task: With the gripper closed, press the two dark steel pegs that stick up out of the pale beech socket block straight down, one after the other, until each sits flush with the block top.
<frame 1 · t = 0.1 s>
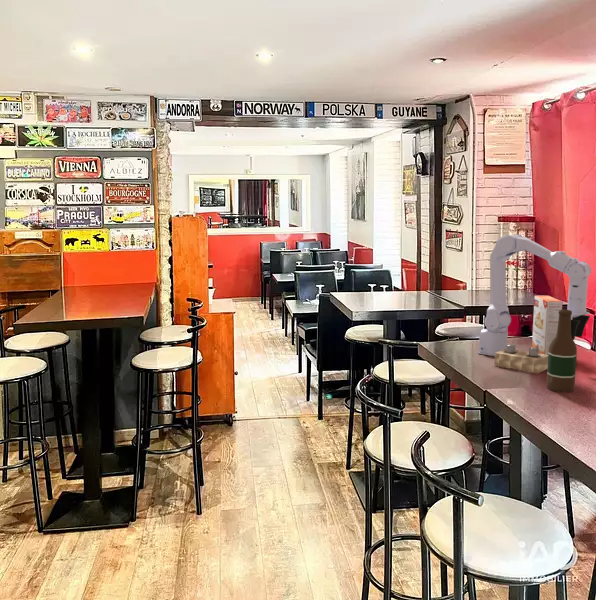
hand: (574, 338, 220), 10 cm above the table, tool pointing down, fingers open, 7 cm apart
cracker box: (544, 354, 241), on the table
peg b: (533, 355, 218), point 5 cm above the table, slide at 2.5 cm
peg a: (510, 351, 223), point 5 cm above the table, slide at 2.5 cm
socket block: (521, 367, 222), on the table
beer bottle: (560, 389, 195), on the table
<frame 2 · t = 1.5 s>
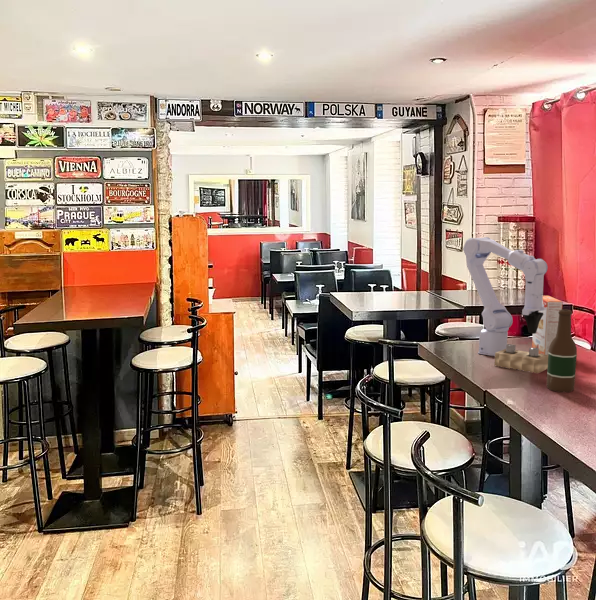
hand: (532, 333, 226), 10 cm above the table, tool pointing down, fingers closed
nothing on the table moved.
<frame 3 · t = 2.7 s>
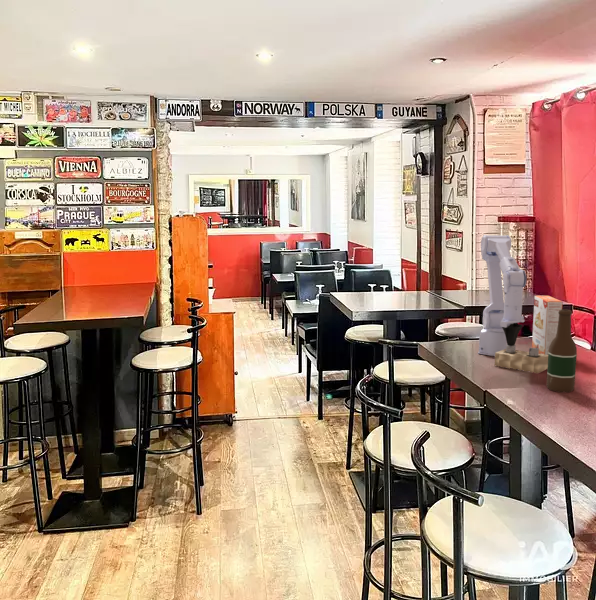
hand: (511, 345, 223), 7 cm above the table, tool pointing down, fingers closed, pressing on peg a
peg a: (510, 351, 223), point 5 cm above the table, slide at 2.5 cm, touching gripper
everything else where it was.
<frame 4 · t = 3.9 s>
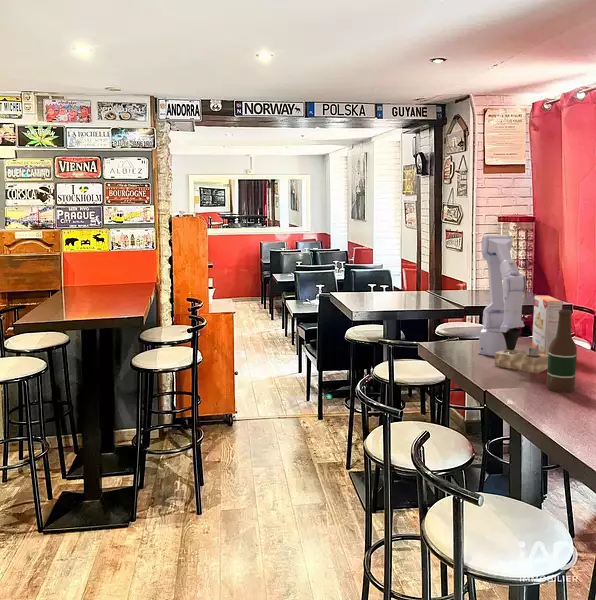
hand: (510, 349, 223), 5 cm above the table, tool pointing down, fingers closed
peg a: (510, 358, 224), point 2 cm above the table, slide at 0.0 cm
everything else where it was.
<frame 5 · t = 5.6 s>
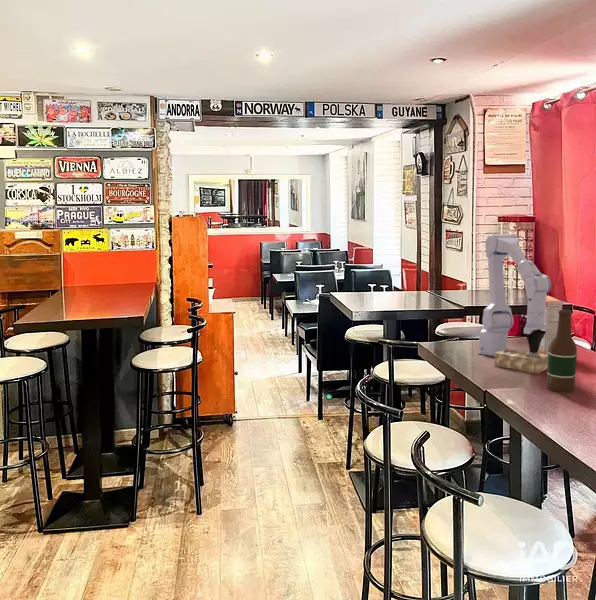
hand: (533, 352, 218), 6 cm above the table, tool pointing down, fingers closed, pressing on peg b
peg b: (533, 358, 218), point 4 cm above the table, slide at 1.3 cm, touching gripper
everything else where it was.
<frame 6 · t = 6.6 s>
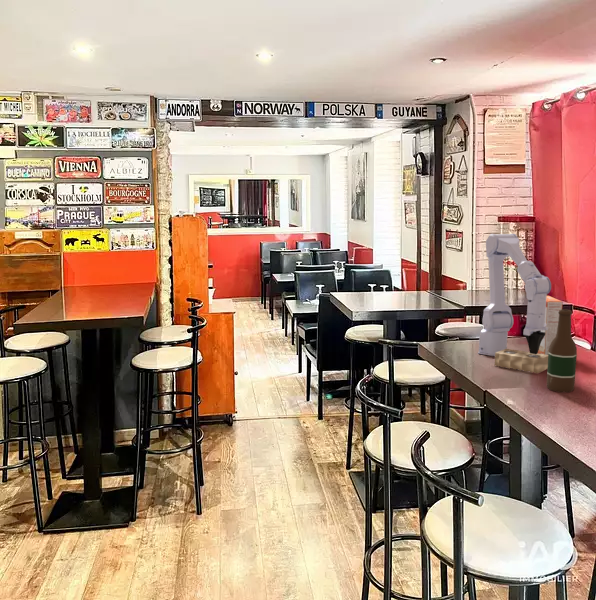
hand: (533, 353, 218), 5 cm above the table, tool pointing down, fingers closed
peg b: (533, 362, 219), point 2 cm above the table, slide at 0.0 cm
everything else where it was.
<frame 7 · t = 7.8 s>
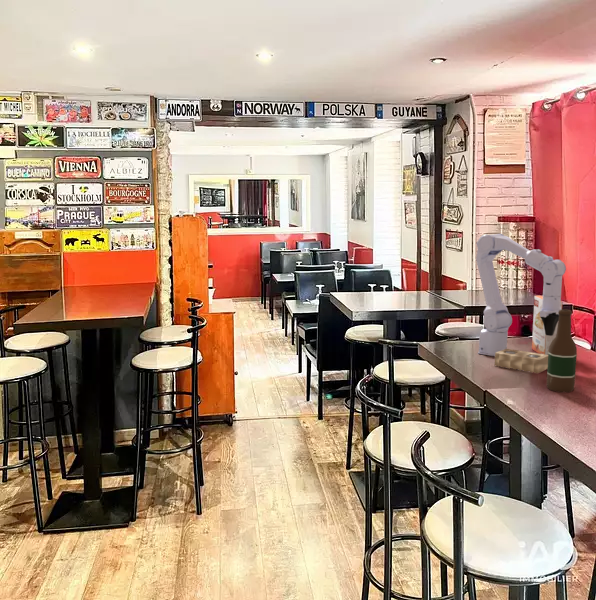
hand: (549, 335, 223), 10 cm above the table, tool pointing down, fingers closed
nothing on the table moved.
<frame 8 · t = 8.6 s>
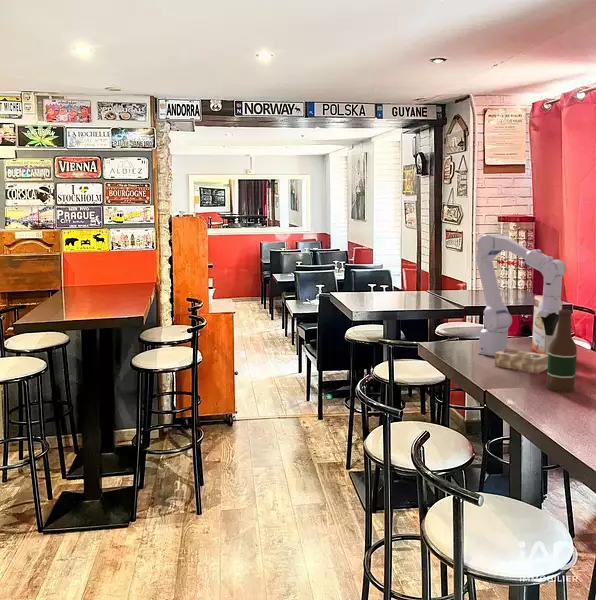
hand: (549, 335, 223), 10 cm above the table, tool pointing down, fingers closed
nothing on the table moved.
at the end: peg a slide at 0.0 cm; peg b slide at 0.0 cm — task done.
